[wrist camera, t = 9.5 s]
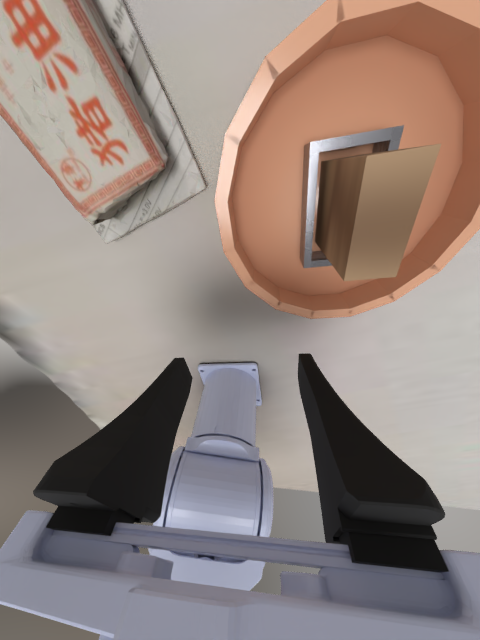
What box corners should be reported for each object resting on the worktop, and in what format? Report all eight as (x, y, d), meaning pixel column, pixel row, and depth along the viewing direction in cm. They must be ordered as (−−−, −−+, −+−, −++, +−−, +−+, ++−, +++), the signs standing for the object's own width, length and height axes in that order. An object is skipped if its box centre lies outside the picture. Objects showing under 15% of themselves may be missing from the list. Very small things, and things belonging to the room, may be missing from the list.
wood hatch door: (347, 237, 15) (396, 277, 10) (314, 241, 16) (343, 281, 10) (361, 154, 13) (441, 143, 7) (321, 161, 13) (366, 155, 7)
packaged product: (-470, -349, 5) (-608, -1443, 2) (-166, -133, 9) (-71, -444, 6) (79, 259, 15) (194, 193, 12) (117, 240, 19) (211, 187, 16)
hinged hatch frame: (359, 252, 16) (370, 262, 14) (299, 258, 17) (303, 268, 15) (385, 130, 12) (404, 125, 10) (303, 145, 13) (310, 141, 11)
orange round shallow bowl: (411, 290, 19) (438, 311, 16) (239, 302, 21) (236, 323, 18) (538, -21, 9) (658, -102, 6) (202, 65, 12) (183, 32, 9)
